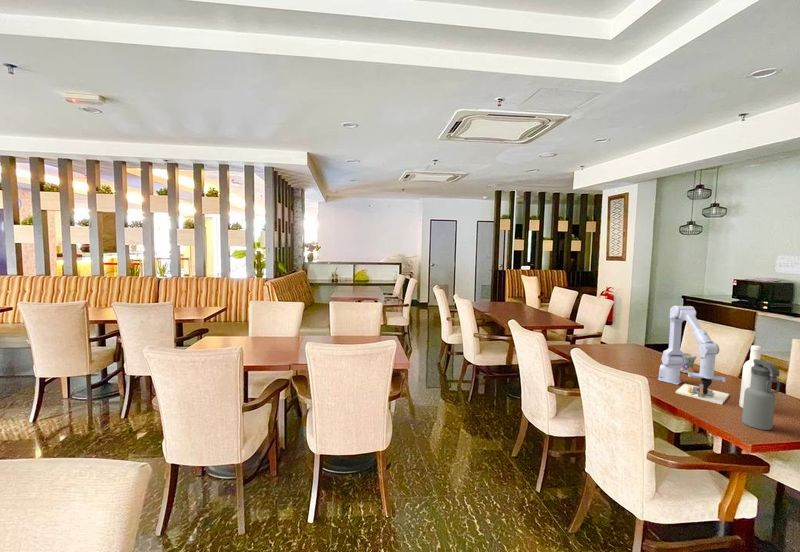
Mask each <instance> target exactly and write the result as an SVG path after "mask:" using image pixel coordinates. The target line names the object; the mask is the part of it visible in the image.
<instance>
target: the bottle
mask: <svg viewBox="0 0 800 552" xmlns="http://www.w3.org/2000/svg"><path fill="white" fill-rule="evenodd" d="M761 357H762V346H761V345H755V344H754V345H751V346H750V353H749V360H747V361H745V363H744V364H743V366H742V373H741V374H742V375H741V383H740V384H741V385H740V393H739V400H738V403H739V404H738V405H739V407H740V408H742V409H743V403H744V393H745V389H746V388H748V387H750V384H751V375H752V374H751V367H752V366H754V362H753V361H754V359H758V360H761ZM763 367H765V366H763Z"/></svg>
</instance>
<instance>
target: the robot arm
mask: <svg viewBox="0 0 800 552" xmlns="http://www.w3.org/2000/svg"><path fill="white" fill-rule="evenodd" d="M696 316H697V311H696V308H695V307H694V306H691V305H684V306H683V305H673V306H672V307H670V309H669V323H670V324H669V335H668V336H669V339H668V348H667V349H665V350H663V351H662V355H661V362H662V363H661V364H660V365H659V371H658V378H657V380H658V381H659V382H663V383H668V384H672V385H677V386H678V385H680V384H681V383H682V380H680V375H681V372H680V368H681V367H682V366H683V365H684V364H685V358H684V353H685V352H683V351H682V350H681V344H682V343H681V341H682V324H683V322H684V321H686V323H687V324H688V325H689V326H690V328H691V329H692V331H693V335H692V336H693V337H694V338H695V340H696V342H697V345H698V347H697V348H698V352H699V357H700V362H699V372H694V373H690V372H688V375H687V377H689V378H695V379H700V381H701V382H702V383H701V384H703V386H704V388H703V393H704V394H707V393H708V389H709V387H710V386H711V384H712V383H713V381H717V382H722V383H725V382H726V377H724V376H719V375H715V367H716V356H717V355H718V354H719V352H720V347H719V346H720V345H719V344H718V343H716V342H715V341H714V340H712V339H711V337H710V336H709V335H708V333H707V331H706V330H705V329H703V328H702V327H701V325H700V323H699V320H698V318H697V317H696Z"/></svg>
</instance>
